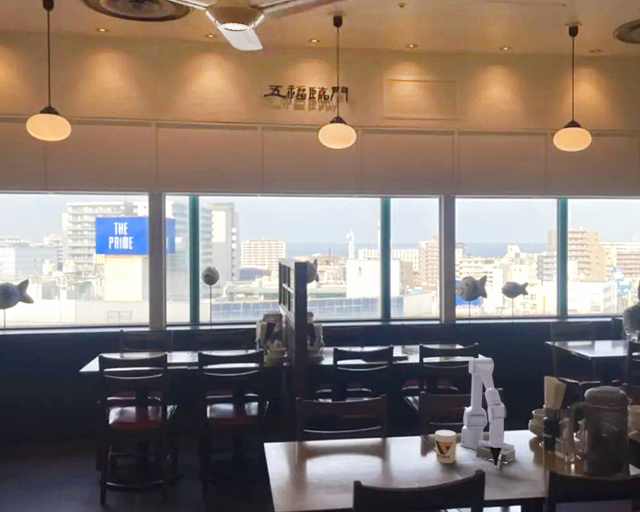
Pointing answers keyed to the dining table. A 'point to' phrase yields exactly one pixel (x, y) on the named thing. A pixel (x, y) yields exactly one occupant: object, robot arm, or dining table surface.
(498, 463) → the side door
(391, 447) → the dining table surface
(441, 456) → the coffee cup
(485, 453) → the camera case
